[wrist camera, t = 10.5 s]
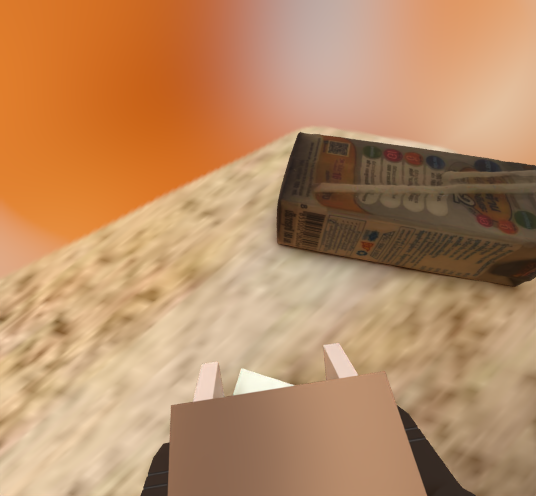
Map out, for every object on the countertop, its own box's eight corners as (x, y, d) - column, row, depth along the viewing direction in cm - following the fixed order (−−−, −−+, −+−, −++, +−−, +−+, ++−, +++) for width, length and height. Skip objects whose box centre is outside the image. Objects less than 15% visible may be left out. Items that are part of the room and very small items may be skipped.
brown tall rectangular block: (322, 405, 16) (385, 371, 7) (348, 527, 13) (513, 752, 4) (233, 419, 16) (171, 405, 6) (241, 547, 13) (154, 837, 4)
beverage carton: (519, 295, 22) (603, 249, 16) (272, 249, 24) (270, 196, 19) (499, 215, 26) (561, 155, 20) (290, 183, 29) (293, 124, 23)
